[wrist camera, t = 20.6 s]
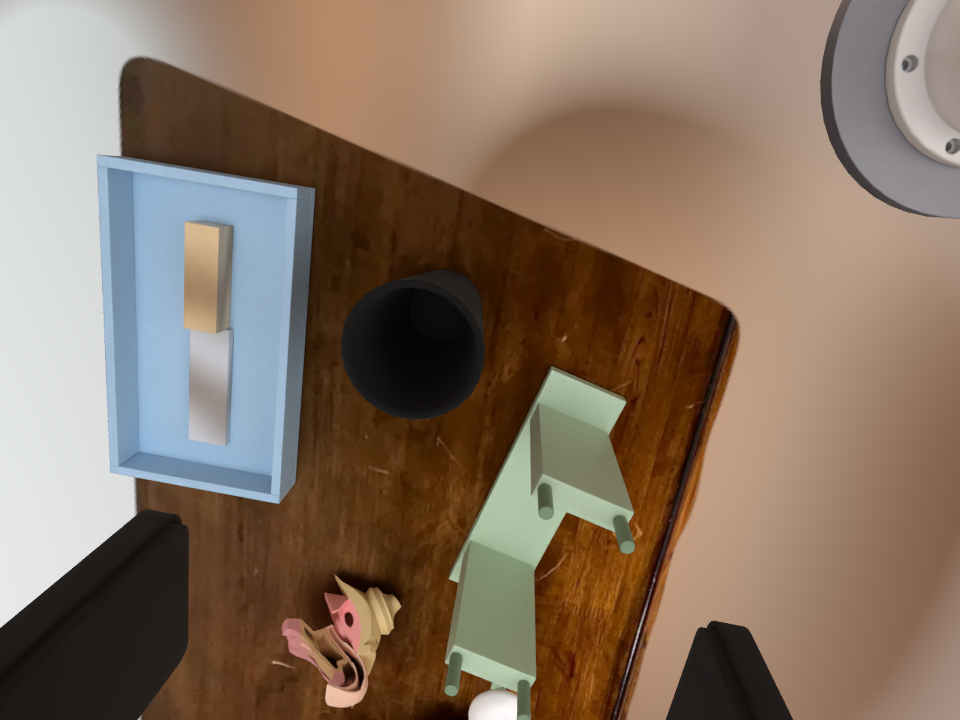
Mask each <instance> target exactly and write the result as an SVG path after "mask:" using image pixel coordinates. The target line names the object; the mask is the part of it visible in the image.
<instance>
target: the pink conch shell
mask: <svg viewBox="0 0 960 720" xmlns="http://www.w3.org/2000/svg"><path fill="white" fill-rule="evenodd" d="M335 579H336V581H337V583H338V585H339V587H340V589H341V591H342V593H343V595H344V596H342V595H336V594H330V593H325V599H326V602H327V605H328V608H329V611H330V614H331V617H332V619H333V622H334V627H333V625H330V626H328V627H325V628H323V629H320V630H317V631H313V630H312V629H311V628H310V627H309V626H308V625H307V624H306V623H305V622H304V621H303V620H302V619H286V620H285V621H284V623H283V625H282V633H283V635H285V636H287V639H288V641H289V642H288V647H289V652H291V653H292V654H294V655H296V656H298V657H300V658H303V659H306V660H308V661H310V662H311V663H313V664H314V665H315V666H316V667H317V668H318V669H319V670H320V672H321V674H322V675H323V677H324V678H325V679H326V680H327V681H328V682H329V683H328V685H327V690H326V697H325V700H326V703H327V705H329V706H334V707H349V706H352V705H354V704H357V703H359V702H360V701H361V700H362V699H363V697H364V695H365V693H366V691H367V687H368V678H367V676H368V675H369V673H370V671H371V669H372V666H373V663H374V661H375V657H376V649H377V647H378V646H379V642H380V638H381V634H384V635H389V633H390V632H391V630H392V629H394V625H393V620H394V616H395V613H396V612H397V611H398V610H399V609H400V608H401V606H400V603H399V602H398V600H397V599H396V598H395V597H394V596H393V595H387V594H384V593H383V592H381V591H380V590H379V589H378V587H376V588H371V587H370V588H369V589H368V590H367V592H366V593H365V594H364V593H363V592H362V591H360V590H358V589H356V588H354V587H352V586H350V585H348V584H346V583H344V582H342V581H341V580H340V579H339V578H338V577H337V576H336V575H335ZM351 681H352V684H351V685H350V686H348V684H349V683H350V682H351Z"/></svg>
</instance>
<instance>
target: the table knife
mask: <svg viewBox="0 0 960 720" xmlns="http://www.w3.org/2000/svg"><path fill="white" fill-rule="evenodd" d="M232 251H233V226H231V225H226V224H220V223H214V222H209V221H203V220H197V221H186V222H185V245H184V328H186V329H190V365H189V440H194V441H200V442H205V443H210V444H215V445H221V446H226V445H227V444H229V439H230V412H231V385H232V359H233V332H234V329H233V328H230V308H231V279H232Z"/></svg>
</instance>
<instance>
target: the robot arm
mask: <svg viewBox="0 0 960 720" xmlns="http://www.w3.org/2000/svg"><path fill="white" fill-rule="evenodd" d="M902 63H903V64H904V68H903V69H902ZM885 87H886V92H887V98H888V104H889V108H890V110H891V113H892V115H893V118H894V120H895V123H896V125H897V126H898V128H899V129H900V131H901V132H902V134H903V135H904V136H905V138H906V139H907V141H908V142H910V143H911V144H912V145H913V146H914V147H915V148H916V149H917V150H919V151H920V152H921V153H922V154H924V155H926V156H928V157H930V158H931V159H933V160H935V161H937V162H939V163H943V164H946V165H950V166H953V167H957V168H960V0H909V2H908V3H907V5H906V7H905V8H904V10H903V12H902V14H901V15H900V17H899V20H898V22H897V25H896V28H895V30H894V33H893V35H892V38H891V41H890V46H889V51H888V55H887V60H886V79H885ZM945 147H946V149H945ZM188 567H189V531H188V527H187V526H186V525H182V522H181V519H180V517H179V516H178V515H175V514H170V513H165V512H160V511H155V510H149V509H147V510H143V511H142V512H140V513H139V514H137V515H136V516H135V517H134V518H133V519H131V520H130V521H129V522H128V523H126V524H125V525H124V526H123V527H122V528H121V529H119V530H118V531H117V532H116V533H114V534H113V535H112V536H111V537H110V538H108V539H107V540H106V541H105V542H104V543H102V544H101V545H100V546H99V547H98V548H96V549H95V550H94V551H93V552H91V553H90V554H89V555H88V556H87V557H85V558H84V559H83V560H82V561H81V562H79V564H77V565H76V566H75V567H73V568H72V569H71V570H70V571H69V572H67V573H66V574H65V575H64V576H63V577H61V578H60V579H59V580H58V581H57V582H55V583H54V584H53V585H52V586H50V587H49V588H48V589H47V590H46V591H44V592H43V593H42V594H41V595H40V596H38V597H37V598H36V599H35V600H34V601H32V602H31V603H30V604H29V605H28V606H26V607H25V608H24V609H23V610H21V611H20V612H19V613H18V614H17V615H15V616H14V617H13V618H12V619H11V620H10V621H8V622H7V623H6V624H5V625H3V626H2V627H1V628H0V720H138V718H139V717H140V716H141V714H142V713H143V712H144V710H145V709H146V708H147V706H148V705H149V703H150V702H151V701H152V699H153V698H154V697H155V695H156V694H157V693H158V691H159V690H160V689H161V687H162V686H163V685H164V683H165V682H166V681H167V679H168V678H169V677H170V675H171V674H172V672H173V671H174V670H175V668H176V667H177V666H178V664H179V663H180V661H181V660H182V658H183V656H184V654H185V651H186V648H187V644H188ZM666 720H793V719H792V717H791V714H790V713H789V710H788V708H787V707H786V704H785V702H784V700H783V698H782V696H781V694H780V692H779V690H778V688H777V686H776V684H775V682H774V680H773V678H772V676H771V674H770V671H769V670H768V668H767V665H766V663H765V661H764V659H763V657H762V655H761V653H760V651H759V649H758V647H757V645H756V643H755V641H754V639H753V637H752V635H751V633H750V631H749V630H748V629H747V628H746V627H743V626H738V625H733V624H728V623H723V622H718V621H711V622H710V623H709V624H708V626H707V628H703V627H700V628H699V629H698V630H697V632H696V635H695V637H694V640H693V643H692V646H691V649H690V652H689V655H688V658H687V660H686V663H685V667H684V669H683V672H682V675H681V678H680V681H679V684H678V687H677V689H676V692H675V695H674V698H673V701H672V704H671V707H670V709H669V712H668V715H667V718H666Z"/></svg>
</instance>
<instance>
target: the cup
mask: <svg viewBox="0 0 960 720" xmlns="http://www.w3.org/2000/svg"><path fill="white" fill-rule="evenodd" d="M484 353H485V345H484V331H483V317H482V304H481V300H480V296H479V293H478V291H477V289H476V287H475V286H474V285H473V284H472V283H471V281H470V280H469V279H467V278H466V277H465V276H463V275H462V274H459V273H457V272H455V271H451V270H445V269H443V270H434V271H430V272H426V273H422V274H418V275H414V276H410V277H407V278H403V279H399V280H395V281H392V282H389V283H386V284H383V285H380V286H377V287H376V288H374V289H373V290H371V291H370V292H368V293H367V294H365V295H364V296H363V297H362V298H361V299H360V300H359V301H358V302H357V303H356V304H355V306H354V307H353V308H352V309H351V311H350V313H349V315H348V317H347V319H346V321H345V323H344V328H343V332H342V337H341V355H342V360H343V363H344V367H345V370H346V373H347V375H348V377H349V379H350V380H351V382H352V384H353V386H354V388H355V389H356V390H357V391H358V392H359V393H360V394H361V395H362V396H363V398H364V399H365V400H366V401H368V402H369V403H371V404H372V405H373V406H375V407H376V408H378V409H379V410H381V411H383V412H386V413H388V414H390V415H393V416H395V417H400V418H406V419H411V420H415V419H430V418H433V417H437V416H440V415H444V414H446V413H448V412H449V411H451V410H453V409H455V408H456V407H458V406H459V405H460V404H461V403H463V402H464V401H465V400H466V399H467V398H468V397H469V396H470V395H471V393H472V392H473V390H474V388H475V387H476V385H477V383H478V382H479V380H480V376H481V373H482V370H483V366H484Z"/></svg>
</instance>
